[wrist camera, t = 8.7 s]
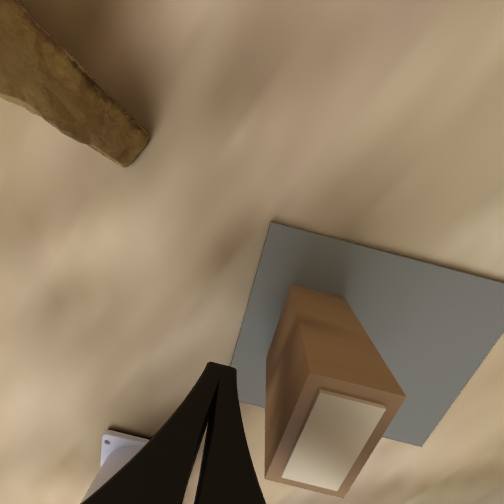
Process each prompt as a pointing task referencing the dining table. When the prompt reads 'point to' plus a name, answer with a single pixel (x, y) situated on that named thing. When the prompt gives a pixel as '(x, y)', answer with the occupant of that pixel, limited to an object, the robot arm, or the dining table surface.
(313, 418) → the walnut block
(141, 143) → the rock
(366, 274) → the rubber mat
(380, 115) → the dining table surface
